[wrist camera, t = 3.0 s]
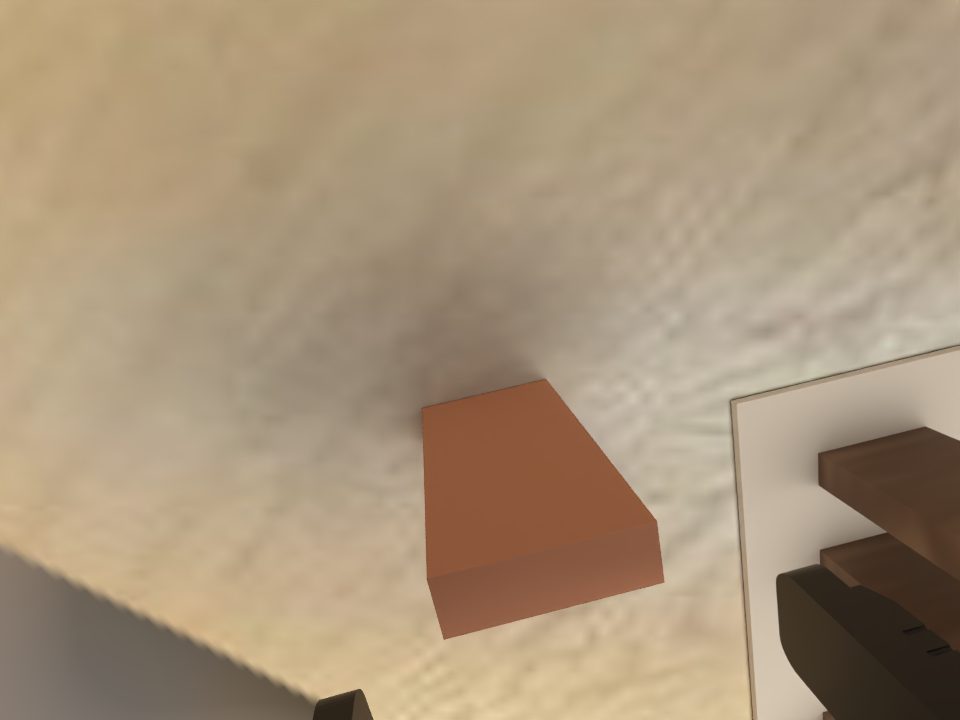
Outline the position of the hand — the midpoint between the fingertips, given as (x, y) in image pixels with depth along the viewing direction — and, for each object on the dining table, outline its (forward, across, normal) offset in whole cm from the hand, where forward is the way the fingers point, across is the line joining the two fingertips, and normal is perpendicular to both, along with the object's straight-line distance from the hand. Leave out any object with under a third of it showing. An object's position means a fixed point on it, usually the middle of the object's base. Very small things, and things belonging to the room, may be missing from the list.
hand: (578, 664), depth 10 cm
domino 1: (+12, 0, -1) cm, 12 cm away
